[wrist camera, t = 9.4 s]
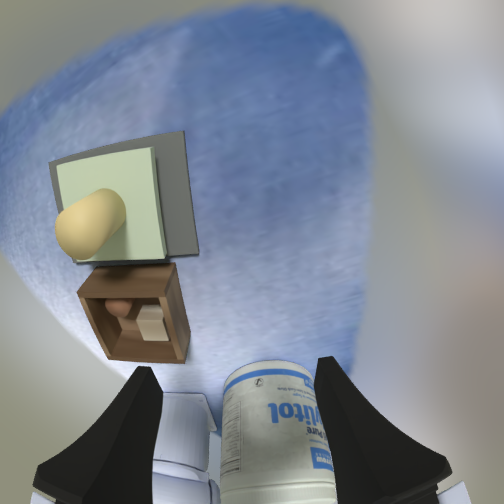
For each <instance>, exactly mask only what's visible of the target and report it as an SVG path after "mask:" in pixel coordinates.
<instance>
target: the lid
mask: <svg viewBox="0 0 504 504" xmlns="http://www.w3.org/2000/svg"><path fill="white" fill-rule="evenodd" d="M57 174H58V180H59V187H60V192H61V198H62V203H63V208H64V210H63V211H62V212H61V213H60V214H59V215H58V217H57V219H56V223H55V234H56V238H57V241H58V243H59V245H60V247H61V248H62V250H63V251H64V252H65V253H66V254H67V255H69V256H70V257H72V258H74V259H76V260H77V261H107V260H139V259H164V258H165V256H166V254H167V250H166V244H165V238H164V231H163V224H162V217H161V209H160V201H159V193H158V183H157V174H156V163H155V150H154V147H149V148H141V149H134V150H128V151H122V152H116V153H110V154H105V155H100V156H95V157H90V158H85V159H80V160H76V161H72V162H67V163H63V164H60V165H57Z"/></svg>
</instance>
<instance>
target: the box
mask: <svg viewBox="0 0 504 504" xmlns="http://www.w3.org/2000/svg"><path fill="white" fill-rule="evenodd" d="M77 294H78V297H79V299H80V302H81V304H82V306H83V309H84V311H85V313H86V316H87V318H88V320H89V322H90V324H91V327H92V329H93V331H94V333H95V335H96V337H97V339H98V341H99V343H100V345H101V347H102V349H103V351H104V353H105V355H106V356H107V358H108V360H118V361H131V362H147V363H174V364H185V362H186V356H187V350H188V344H189V339H190V333H191V331H190V327H189V323H188V319H187V315H186V310H185V306H184V302H183V297H182V292H181V288H180V283H179V278H178V273H177V268H176V263H175V262H174V263H156V264H137V265H119V266H100V267H96V268H95V269H94V271H93V272H92V273H91V274H90V276H89V277H88V278H87V279H86V281H85V282H84V283H83V284H82V286H81V287H80V288H79V290H78V291H77Z"/></svg>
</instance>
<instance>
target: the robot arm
mask: <svg viewBox="0 0 504 504" xmlns="http://www.w3.org/2000/svg"><path fill="white" fill-rule="evenodd" d="M314 391H315V397H316V402H317V407H318V410H319V414H320V417H321V420H322V424H323V427H324V430H325V433H326V437H327V440H328V443H329V447H330V451H331V456H332V462H333V468H334V475H335V483H336V491H337V501H338V504H471V501H470V498H469V495H468V492H467V489H466V487H465V484H464V481H460V482H459V483H457V484H455V485H454V486H452V487H450V488H449V489H447V490H445V491H443V492H441V493H439V494H436V491H437V490H438V486H437V483H439V482H440V481H442V480H444V479H445V478H447V477H448V476H450V475H451V474H452V469H451V467H450V464H449V462H448V461H447V459H446V457H445V456H443V455H441V454H439V453H436V452H434V451H432V450H431V449H429V448H427V447H425V446H423V445H422V444H420V443H418V442H416V441H415V440H413V439H412V438H411V437H409V436H408V435H406V434H405V433H403V432H402V431H400V430H399V429H398V428H397V427H395V426H394V425H393V424H392V423H390V422H389V421H388V420H387V419H386V418H385V417H384V416H383V415H381V414H380V413H379V412H378V411H377V410H376V409H375V408H374V407H373V406H372V405H371V404H370V403H369V401H368V400H367V399H366V398H365V397H364V396H363V395H362V394H361V392H360V391H359V390H358V389H357V388H356V386H355V385H354V384H353V383H352V382H351V380H350V379H349V378H348V376H347V375H346V374H345V372H344V371H343V370H342V368H341V367H340V365H339V364H338V363H337V361H336V360H335V358H334V357H333V356H329V357H323V358H318V363H317V369H316V375H315V380H314ZM216 430H217V427H216V424H215V421H214V419H213V416H212V414H211V411H210V408H209V405H208V403H207V400H206V397H205V395H203V394H183V393H163V391H162V389H161V387H160V385H159V383H158V381H157V379H156V377H155V375H154V373H153V371H152V369H151V367H147V366H138V367H137V368H136V369H135V371H134V372H133V374H132V375H131V376H130V378H129V379H128V381H127V382H126V384H125V385H124V386H123V388H122V389H121V391H120V392H119V393H118V395H117V396H116V397H115V399H114V400H113V401H112V403H111V404H110V405H109V406H108V408H107V409H106V410H105V411H104V413H103V414H102V415H101V416H100V417H99V418H98V420H97V421H96V422H95V423H94V424H93V425H92V426H91V427H90V428H89V429H88V430H87V431H86V432H85V433H84V434H83V435H82V436H81V437H80V438H78V439H77V440H76V441H75V442H74V443H73V444H71V445H70V446H69V447H67V448H66V449H64V450H63V451H62V452H60V453H59V454H57V455H56V456H54V457H52V458H51V459H49V460H47V461H45V462H43V463H42V464H40V465H38V468H37V471H36V474H35V478H34V481H33V487H35V488H36V489H38V490H40V491H42V492H44V493H45V494H47V495H49V496H51V497H53V498H55V499H56V502H53V501H51V500H49V499H47V498H45V497H43V496H41V495H39V494H38V493H36V492H33V494H32V498H31V503H30V504H221V499H220V495H221V494H220V489H219V487H218V485H217V484H216V483H215V481H213V480H212V479H211V480H210V479H209V473H208V472H205V471H206V470H207V467H208V459H209V435H210V431H216Z"/></svg>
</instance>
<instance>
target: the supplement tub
mask: <svg viewBox="0 0 504 504" xmlns="http://www.w3.org/2000/svg"><path fill="white" fill-rule="evenodd" d="M335 488H336V486H335V477H334V471H333V466H332V461H331V456H330V451H329V447H328V442H327V437H326V433H325V430H324V427H323V424H322V420H321V417H320V414H319V410H318V407H317V402H316V397H315V391H314V380H313V378H312V376H311V374H310V373H309V372H308V371H307V370H306V369H305V368H304V367H302V366H300V365H298V364H295V363H292V362H288V361H280V360H269V361H260V362H255V363H251V364H248V365H246V366H243V367H241V368H239V369H238V370H236V371H235V372H234V373H232V374H231V375H230V376H229V378H228V379H227V381H226V383H225V385H224V397H223V418H222V442H221V471H220V494H221V495H220V499H221V504H333V503H334V502H335V501H336V493H335Z"/></svg>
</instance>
